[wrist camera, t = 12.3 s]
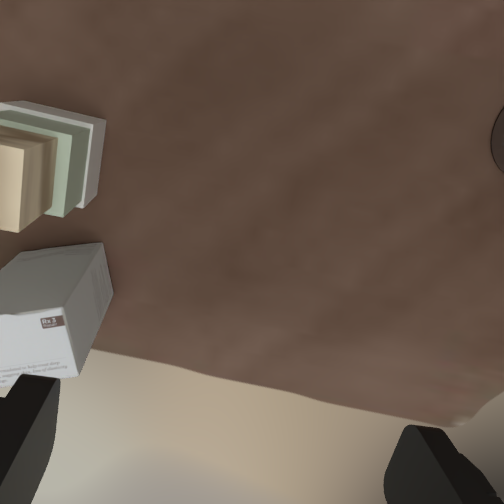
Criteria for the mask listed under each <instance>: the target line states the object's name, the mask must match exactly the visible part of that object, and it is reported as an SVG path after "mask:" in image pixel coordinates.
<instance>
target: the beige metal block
mask: <svg viewBox="0 0 504 504" xmlns="http://www.w3.org/2000/svg"><path fill="white" fill-rule="evenodd" d="M57 145H58V138H56V137H52V136H47V135H43V134H38V133H34V132H29V131H25V130H20V129H16V128H11V127H7V126H2V125H0V229H1V230H6V231H11V232H17V233H19V232H20V231H22V230H23V229H24V228H25V227H27V226H28V225H29V224H31V223H32V222H33V221H34V220H36V219H37V218H38V217H40V216H41V215H42V214H43V213H45V212H46V211H47V210H49V209H50V208H51V207H52V199H53V189H54V178H55V167H56V156H57Z"/></svg>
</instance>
